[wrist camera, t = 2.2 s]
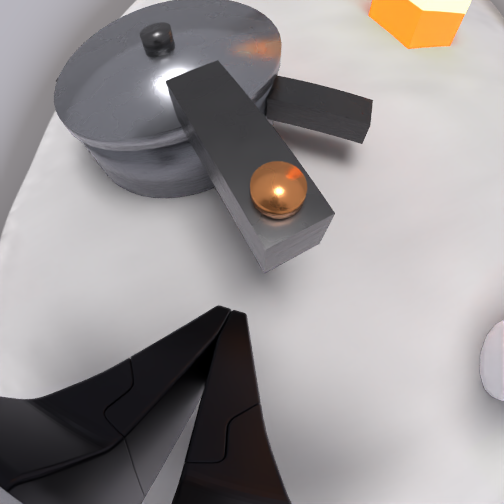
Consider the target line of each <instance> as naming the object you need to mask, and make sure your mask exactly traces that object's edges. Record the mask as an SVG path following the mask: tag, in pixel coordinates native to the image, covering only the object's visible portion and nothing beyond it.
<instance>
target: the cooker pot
mask: <svg viewBox="0 0 504 504" xmlns="http://www.w3.org/2000/svg"><path fill="white" fill-rule="evenodd" d="M57 80H58V79H57ZM57 80H56V81H57ZM372 102H373V100H370V99H367V98H364V97H361V96H358V95H354V94H351V93H347V92H344V91H340V90H337V89H333V88H329V87H325V86H321V85H317V84H313V83H309V82H305V81H300V80H296V79H291V78H286V77H281V76H276V78H275V80H274V82H273V84H272V86H271V87H270V88H269V89H268V91H267V92H266V93H265V95H264V96H263V97H261V98H260V99H259V100H258V101H257V102H256V103H255V105H256V106H257V107H258V109H259V110H260V111H261V113H262V114H263V115H264V116H265V118H266V119H267V120H268V121H269V123H270V124H271V125H272V126H273V120H274V121H278V122H283V123H287V124H291V125H295V126H300V127H304V128H307V129H311V130H315V131H319V132H323V133H326V134H330V135H334V136H337V137H341V138H344V139H347V140H351V141H354V142H357V143H361V144H362V143H363V141H364V138H365V136H366V134H367V131H368V129H369V127H370V122H371V112H372ZM84 144H85V146H86V147H87V148H88V150H89V151H90V152H91V154H92V155H93V157H94V158H95V159H96V161H97V162H98V163H99V164H100V166H101V167H102V168H103V170H104V171H105V172H106V174H107V175H108V176H109V177H110V178H111V179H112V180H113V181H114V182H115V183H116V184H118V185H119V186H120V187H122V188H124V189H126V190H128V191H130V192H132V193H136V194H139V195H142V196H148V197H153V198H174V197H183V196H188V195H193V194H197V193H200V192H203V191H207V190H209V189H212V188H214V187H215V186H214V184H213V182H212V180H211V179H210V177H209V175H208V173H207V172H206V170H205V168H204V166H203V165H202V163H201V161H200V159H199V158H198V156H197V154H196V152H195V150H194V149H193V147H192V145H191V143H190V142H189V140H186V141H183V142H180V143H176V144H173V145H169V146H164V147H159V148H155V149H147V150H139V151H114V150H105V149H100V148H96V147H93V146H90V145H88V144H86V143H84Z"/></svg>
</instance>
